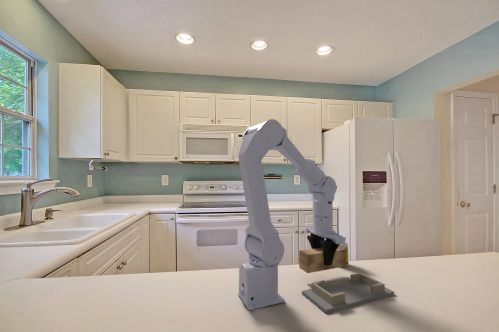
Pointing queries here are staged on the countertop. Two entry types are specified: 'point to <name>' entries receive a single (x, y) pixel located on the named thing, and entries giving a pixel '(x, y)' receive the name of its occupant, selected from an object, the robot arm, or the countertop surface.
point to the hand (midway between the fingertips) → (322, 262)
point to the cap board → (346, 293)
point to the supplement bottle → (345, 248)
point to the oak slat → (320, 260)
